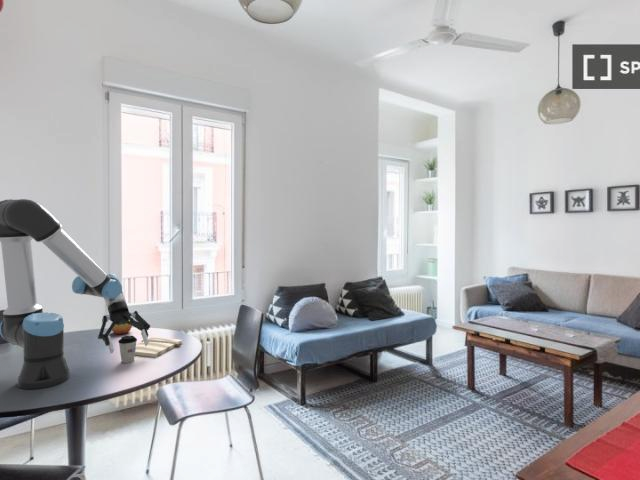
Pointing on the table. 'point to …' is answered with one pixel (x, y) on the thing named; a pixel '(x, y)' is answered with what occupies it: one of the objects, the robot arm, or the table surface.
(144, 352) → the subfloor panel
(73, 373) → the table surface
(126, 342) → the coffee cup
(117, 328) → the apple
